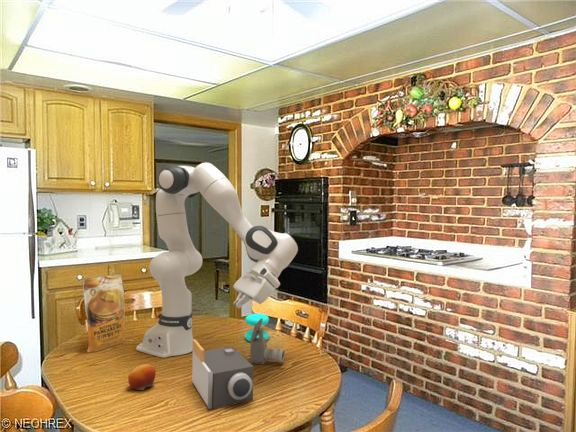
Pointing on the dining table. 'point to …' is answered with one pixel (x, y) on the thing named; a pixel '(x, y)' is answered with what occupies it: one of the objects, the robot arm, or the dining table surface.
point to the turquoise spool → (253, 320)
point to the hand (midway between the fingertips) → (236, 306)
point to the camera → (263, 347)
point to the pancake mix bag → (104, 311)
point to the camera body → (229, 376)
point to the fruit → (142, 377)
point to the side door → (202, 374)
